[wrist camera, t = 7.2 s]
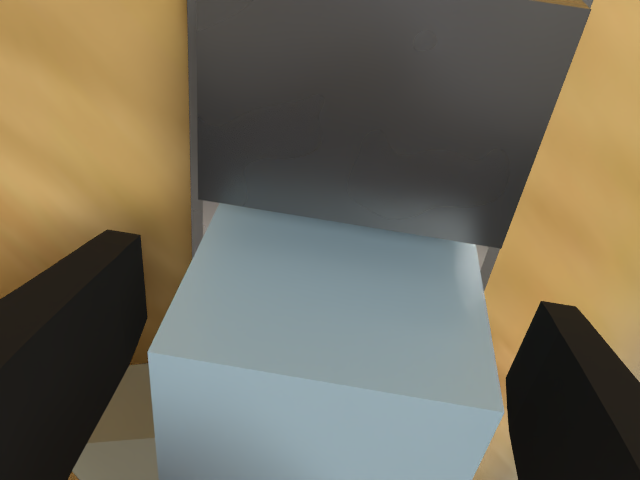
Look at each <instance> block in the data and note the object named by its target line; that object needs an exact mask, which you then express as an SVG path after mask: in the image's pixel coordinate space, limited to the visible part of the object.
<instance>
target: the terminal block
mask: <svg viewBox="0 0 640 480" xmlns="http://www.w3.org/2000/svg"><path fill="white" fill-rule="evenodd" d="M72 472H73V473H74V474H75V475H76V476H77V477H78V479H79V480H159V478H158V466H157V455H156V443H155V432H154V420H153V409H152V397H151V386H150V375H149V363H145V364H137V365H129V367H128V369H127V370H126V372H125V374H124V376H123V378H122V380H121V382H120V384H119V386H118V387H117V389H116V391H115V393H114V395H113V397H112V399H111V400H110V402H109V404H108V406H107V408H106V410H105V411H104V413H103V415H102V417H101V419H100V421H99V422H98V424H97V426H96V428H95V430H94V432H93V433H92V435H91V437H90V439H89V441H88V443H87V444H86V446H85V448H84V450H83V452H82V454H81V455H80V457H79V459H78V461H77V463H76V465H75V466H74V468H73V470H72Z"/></svg>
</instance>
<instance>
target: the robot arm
mask: <svg viewBox="0 0 640 480" xmlns="http://www.w3.org/2000/svg"><path fill="white" fill-rule="evenodd" d="M146 320H147V308H146V296H145V284H144V272H143V260H142V248H141V236H140V235H137V234H131V233H125V232H118V231H112V230H106V231H104V232H103V233H101V234H100V235H98V236H96V237H95V238H93V239H92V240H90V241H89V242H87V243H86V244H84V245H83V246H81V247H80V248H78V249H77V250H75V251H74V252H72V253H71V254H69V255H68V256H66V257H65V258H63V259H62V260H60V261H59V262H57V263H56V264H54V265H53V266H51V267H50V268H48V269H47V270H45V271H44V272H42V273H41V274H39V275H38V276H36V277H35V278H33V279H31V280H30V281H28V282H27V283H25V284H24V285H22V286H21V287H19V288H18V289H16V290H14V291H13V292H11V293H10V294H8V295H6V296H5V297H3V298H1V299H0V480H68V478H69V476H70V474H71V472H72V470H73V468H74V466H75V465H76V463H77V461H78V459H79V457H80V455H81V454H82V452H83V450H84V448H85V446H86V444H87V443H88V441H89V439H90V437H91V435H92V433H93V432H94V430H95V428H96V426H97V424H98V422H99V421H100V419H101V417H102V415H103V413H104V411H105V410H106V408H107V406H108V404H109V402H110V400H111V399H112V397H113V395H114V393H115V391H116V389H117V387H118V386H119V384H120V382H121V380H122V378H123V376H124V374H125V372H126V370H127V369H128V367H129V364H130V362H131V359H132V357H133V354H134V352H135V349H136V347H137V344H138V342H139V339H140V336H141V334H142V331H143V328H144V326H145V323H146ZM506 393H507V411H508V424H509V434H510V439H511V445H512V450H513V455H514V460H515V465H516V471H517V476H518V480H640V382H639V381H638V380H637V379H636V378H635V376H634V375H633V374H632V373H631V372H630V370H629V369H628V368H627V367H626V366H625V364H624V363H623V362H622V361H621V360H620V358H619V357H618V356H617V355H616V354H615V352H614V351H613V350H612V349H611V348H610V346H609V345H608V344H607V343H606V341H605V340H604V339H603V338H602V337H601V335H600V334H599V333H598V332H597V331H596V329H595V328H594V327H593V326H592V325H591V323H590V322H589V321H588V320H587V319H586V318H585V316H584V315H583V314H582V313H581V312H580V311H579V310H578V308H577V307H575V306H569V305H563V304H556V303H550V302H544V301H541V302H540V305H539V307H538V309H537V311H536V313H535V316H534V318H533V320H532V322H531V324H530V326H529V329H528V331H527V333H526V335H525V337H524V339H523V342H522V344H521V346H520V348H519V350H518V353H517V355H516V357H515V359H514V361H513V363H512V366H511V368H510V370H509V372H508V374H507V377H506Z"/></svg>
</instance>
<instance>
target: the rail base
mask: <svg viewBox="0 0 640 480" xmlns="http://www.w3.org/2000/svg"><path fill="white" fill-rule="evenodd" d="M592 2H593V0H187V16H188V68H189V121H190V173H191V225H192V259H193V257H194V255H195V253H196V251H197V249H198V247H199V245H200V243H201V240H202V238H203V236H204V234H205V232H206V230H207V228H208V226H209V224H210V222H211V220H212V218H213V216H214V214H215V212H216V209H217V207H218V205H219V203H223V204H229V205H235V206H241V207H247V208H254V209H260V210H266V211H272V212H278V213H284V214H291V215H297V216H303V217H309V218H315V219H321V220H327V221H334V222H340V223H346V224H352V225H358V226H364V227H371V228H377V229H383V230H389V231H395V232H401V233H408V234H414V235H420V236H426V237H432V238H438V239H445V240H451V241H457V242H463V243H469V244H475V245H476V249H477V255H478V260H479V266H480V272H481V278H482V284H483V290H485V287H486V285H487V282H488V279H489V277H490V274H491V271H492V269H493V266H494V263H495V261H496V258H497V255H498V253H499V250H500V249H501V248H502V245H503V242H504V240H505V237H506V234H507V232H508V229H509V226H510V224H511V221H512V218H513V216H514V213H515V210H516V208H517V205H518V202H519V200H520V197H521V194H522V192H523V189H524V186H525V184H526V181H527V179H528V176H529V173H530V171H531V168H532V165H533V163H534V160H535V157H536V155H537V152H538V149H539V147H540V144H541V141H542V139H543V136H544V133H545V131H546V128H547V125H548V123H549V120H550V117H551V115H552V112H553V110H554V107H555V104H556V102H557V99H558V96H559V94H560V91H561V88H562V86H563V83H564V80H565V78H566V75H567V72H568V70H569V67H570V64H571V62H572V59H573V56H574V54H575V51H576V48H577V46H578V43H579V40H580V38H581V35H582V33H583V30H584V27H585V25H586V22H587V19H588V17H589V14H590V11H591V9H590V8H591V5H592Z"/></svg>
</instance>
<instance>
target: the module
mask: <svg viewBox="0 0 640 480" xmlns="http://www.w3.org/2000/svg"><path fill="white" fill-rule="evenodd" d="M148 363H149V375H150V386H151V397H152V409H153V420H154V432H155V443H156V455H157V466H158V478H159V480H472V479H473V477H474V474H475V472H476V470H477V468H478V466H479V464H480V462H481V460H482V458H483V456H484V454H485V452H486V450H487V448H488V445H489V443H490V441H491V439H492V437H493V435H494V433H495V431H496V429H497V427H498V425H499V423H500V421H501V419H502V416H503V414H504V407H503V402H502V396H501V390H500V384H499V378H498V372H497V366H496V360H495V354H494V349H493V343H492V337H491V331H490V325H489V319H488V313H487V307H486V302H485V296H484V290H483V284H482V278H481V272H480V266H479V260H478V255H477V249H476V245H475V244H469V243H463V242H457V241H451V240H445V239H438V238H432V237H426V236H420V235H414V234H408V233H401V232H395V231H389V230H383V229H377V228H371V227H364V226H358V225H352V224H346V223H340V222H334V221H327V220H321V219H315V218H309V217H303V216H297V215H291V214H284V213H278V212H272V211H266V210H260V209H254V208H247V207H241V206H235V205H229V204H223V203H219V205H218V207H217V209H216V212H215V214H214V216H213V218H212V220H211V222H210V224H209V226H208V228H207V230H206V232H205V234H204V236H203V238H202V240H201V243H200V245H199V247H198V249H197V251H196V253H195V255H194V257H193V259H192V261H191V263H190V265H189V267H188V269H187V271H186V273H185V276H184V278H183V280H182V282H181V284H180V286H179V288H178V290H177V292H176V294H175V296H174V298H173V300H172V302H171V304H170V307H169V309H168V311H167V313H166V315H165V317H164V319H163V321H162V323H161V325H160V327H159V329H158V331H157V333H156V335H155V337H154V340H153V342H152V344H151V346H150V348H149V350H148Z"/></svg>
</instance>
